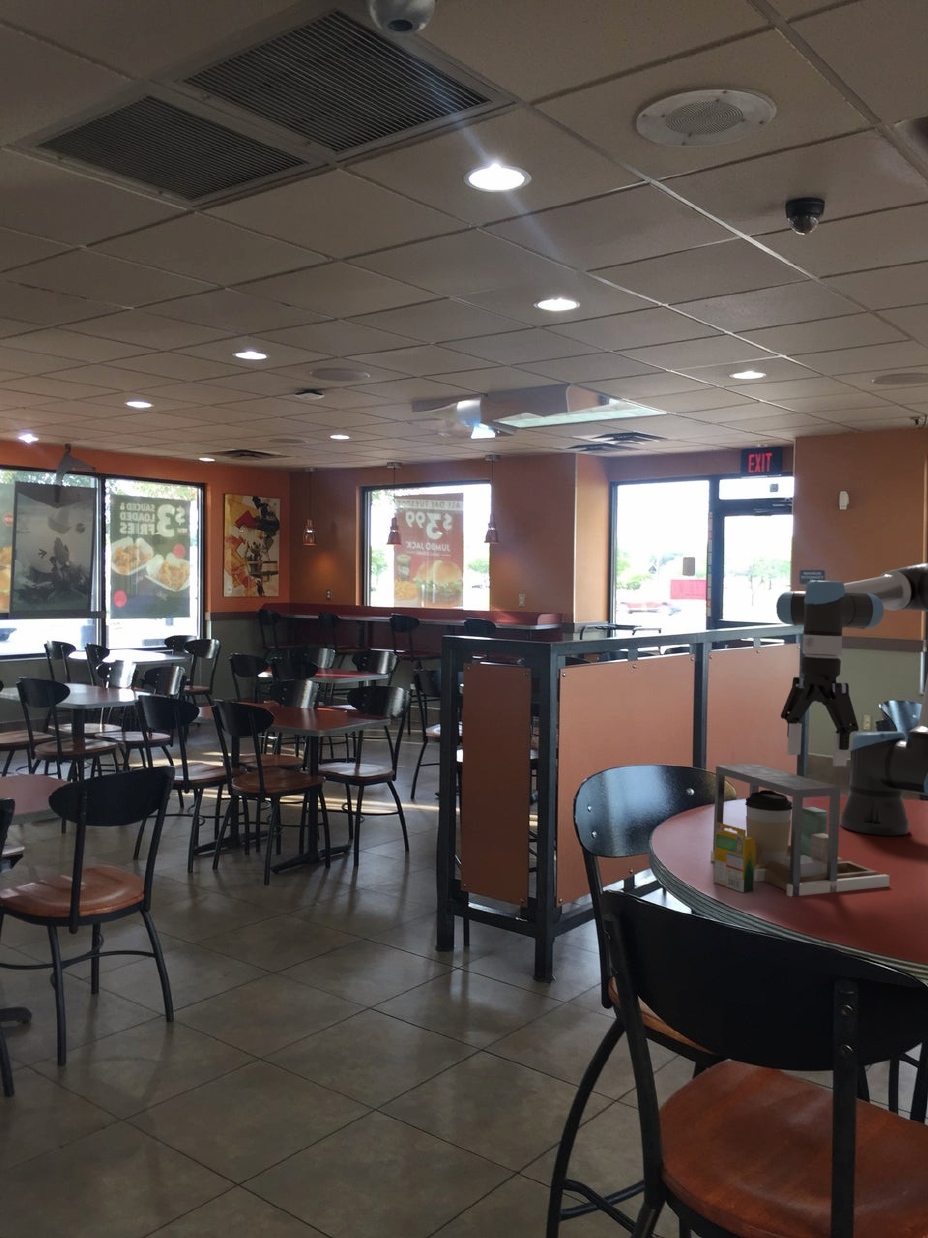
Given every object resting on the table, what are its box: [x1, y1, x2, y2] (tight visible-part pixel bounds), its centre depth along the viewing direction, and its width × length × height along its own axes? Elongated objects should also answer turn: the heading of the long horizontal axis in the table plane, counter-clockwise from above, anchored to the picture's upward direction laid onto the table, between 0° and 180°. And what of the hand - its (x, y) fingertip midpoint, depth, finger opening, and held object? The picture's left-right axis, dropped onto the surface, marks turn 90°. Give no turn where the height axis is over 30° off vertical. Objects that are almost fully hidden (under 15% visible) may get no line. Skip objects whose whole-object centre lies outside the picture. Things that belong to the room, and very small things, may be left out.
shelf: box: [712, 763, 842, 897], centre depth 192 cm, size 10×24×20 cm, turn 21°
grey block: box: [783, 855, 823, 877], centre depth 186 cm, size 5×5×5 cm
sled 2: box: [765, 833, 879, 892], centre depth 187 cm, size 20×8×9 cm, turn 111°
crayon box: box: [713, 822, 755, 894], centre depth 184 cm, size 7×3×12 cm, turn 33°
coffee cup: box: [744, 789, 792, 864], centre depth 197 cm, size 9×9×15 cm
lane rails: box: [710, 850, 890, 897], centre depth 194 cm, size 23×24×2 cm
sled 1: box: [754, 806, 843, 870], centre depth 198 cm, size 20×12×11 cm, turn 111°
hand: (815, 760), depth 201 cm, fingers open, 13 cm apart
